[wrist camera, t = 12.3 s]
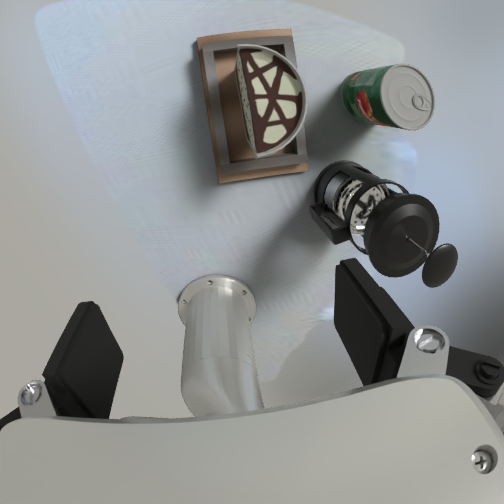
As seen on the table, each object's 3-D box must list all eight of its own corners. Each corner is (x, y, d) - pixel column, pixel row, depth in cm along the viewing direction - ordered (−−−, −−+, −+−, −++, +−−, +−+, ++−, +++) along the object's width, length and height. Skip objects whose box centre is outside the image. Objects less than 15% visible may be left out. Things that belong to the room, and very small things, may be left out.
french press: (368, 151, 39) (485, 199, 18) (379, 208, 43) (478, 286, 22) (294, 175, 39) (375, 247, 19) (311, 233, 44) (383, 337, 23)
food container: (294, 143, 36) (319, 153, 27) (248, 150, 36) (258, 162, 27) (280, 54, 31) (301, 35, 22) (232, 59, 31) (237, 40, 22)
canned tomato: (335, 114, 36) (374, 117, 26) (345, 64, 33) (386, 52, 23) (383, 129, 37) (428, 139, 28) (392, 82, 34) (439, 80, 24)
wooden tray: (306, 169, 39) (312, 173, 36) (219, 181, 39) (219, 187, 36) (289, 30, 30) (294, 24, 27) (197, 39, 30) (195, 33, 27)
